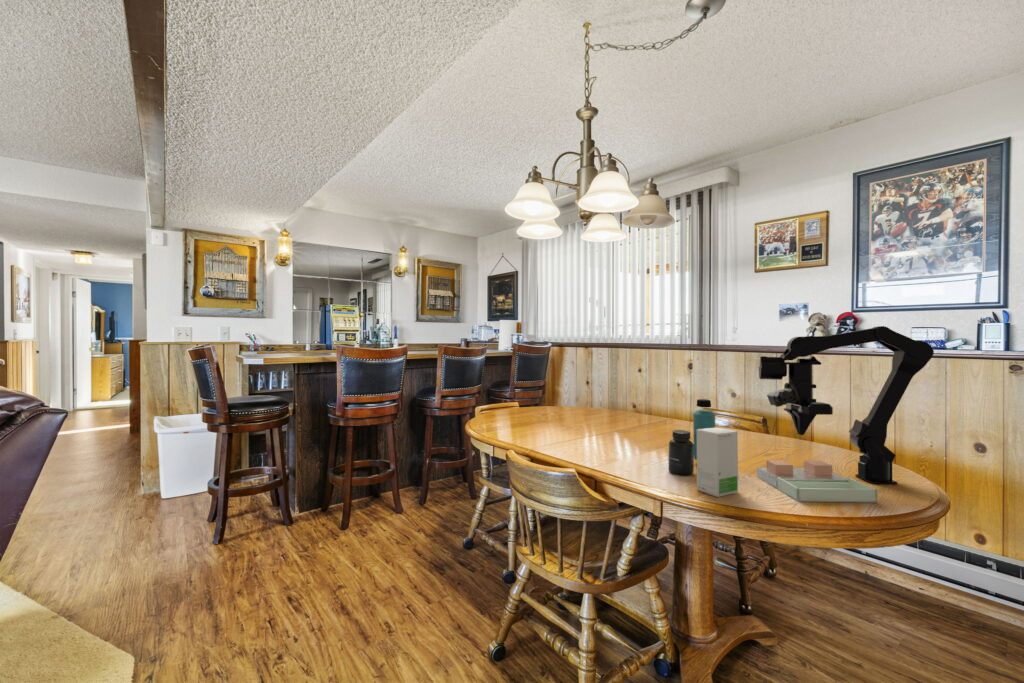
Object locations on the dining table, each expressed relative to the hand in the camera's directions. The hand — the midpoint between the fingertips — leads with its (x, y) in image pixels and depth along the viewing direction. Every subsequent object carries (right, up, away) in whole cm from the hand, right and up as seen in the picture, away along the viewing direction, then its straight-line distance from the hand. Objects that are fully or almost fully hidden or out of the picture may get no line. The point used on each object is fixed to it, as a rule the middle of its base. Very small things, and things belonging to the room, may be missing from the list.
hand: (800, 434), depth 124 cm
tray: (-6, -11, -18) cm, 22 cm away
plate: (-5, -11, -8) cm, 15 cm away
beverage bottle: (-23, -11, +9) cm, 28 cm away
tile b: (-10, -9, -7) cm, 15 cm away
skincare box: (-31, -12, -14) cm, 36 cm away
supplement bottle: (-34, -12, +1) cm, 36 cm away
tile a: (0, -9, -8) cm, 11 cm away
